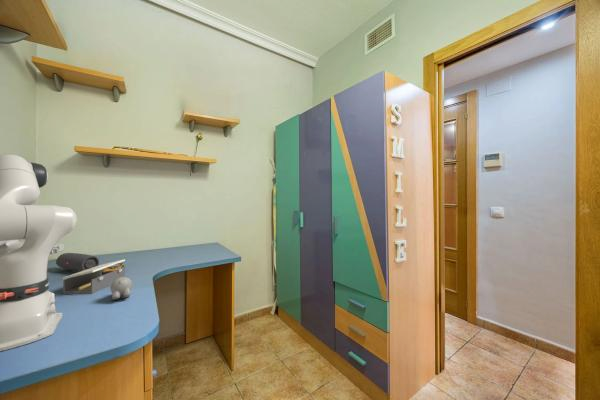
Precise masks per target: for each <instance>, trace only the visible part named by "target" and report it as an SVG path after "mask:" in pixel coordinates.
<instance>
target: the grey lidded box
mask: <svg viewBox="0 0 600 400" xmlns="http://www.w3.org/2000/svg"><path fill="white" fill-rule="evenodd" d="M102 271H103V269H101V270H98V271H95V272H92V273H88V274H84V275H80V276H76V277H71V278H67V279H63V281H62V286H63V289H62V290H63V291H62V293H63V295H86V294H88V295H93V294H94V293H98V292H99V291H101V290H103V289H105V288H107V287H111V284H112V282H113V281H114V280H116V279H117V278H120V277H126V276H125V266H124V267H122V268H120V269H117V270H115V271H112V272H110V273H107V274H105V275H102Z"/></svg>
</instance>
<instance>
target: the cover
mask: <svg viewBox="0 0 600 400" xmlns="http://www.w3.org/2000/svg"><path fill="white" fill-rule="evenodd" d="M125 261H126V259H121V260H120V259H119V260H116V261H111V262H106V263H104V264H99V265H98V266H96V267H93V268H90V269H87V270H84V271H81V272H74V273H72V274H70V275H66V276H64V277H61V280H65V279H68V278H71V277H76V276H80V275H84V274H88V273H92V272H95V271H98V270H101V269H102V270H104V269H105V268H106V267H109V266H112V265H115V264H117V263H123V262H125Z"/></svg>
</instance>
